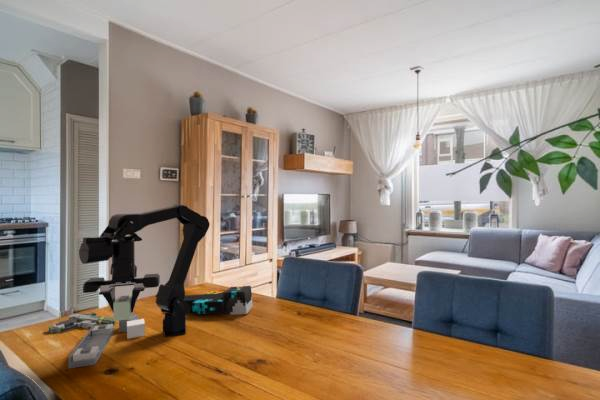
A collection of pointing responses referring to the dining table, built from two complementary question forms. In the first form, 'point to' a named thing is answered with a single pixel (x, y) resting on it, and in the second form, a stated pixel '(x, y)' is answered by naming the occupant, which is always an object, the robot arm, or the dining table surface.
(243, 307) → the toy
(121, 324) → the white block
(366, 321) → the dining table surface
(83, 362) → the rail
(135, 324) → the block
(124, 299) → the module
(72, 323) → the futuristic handgun
